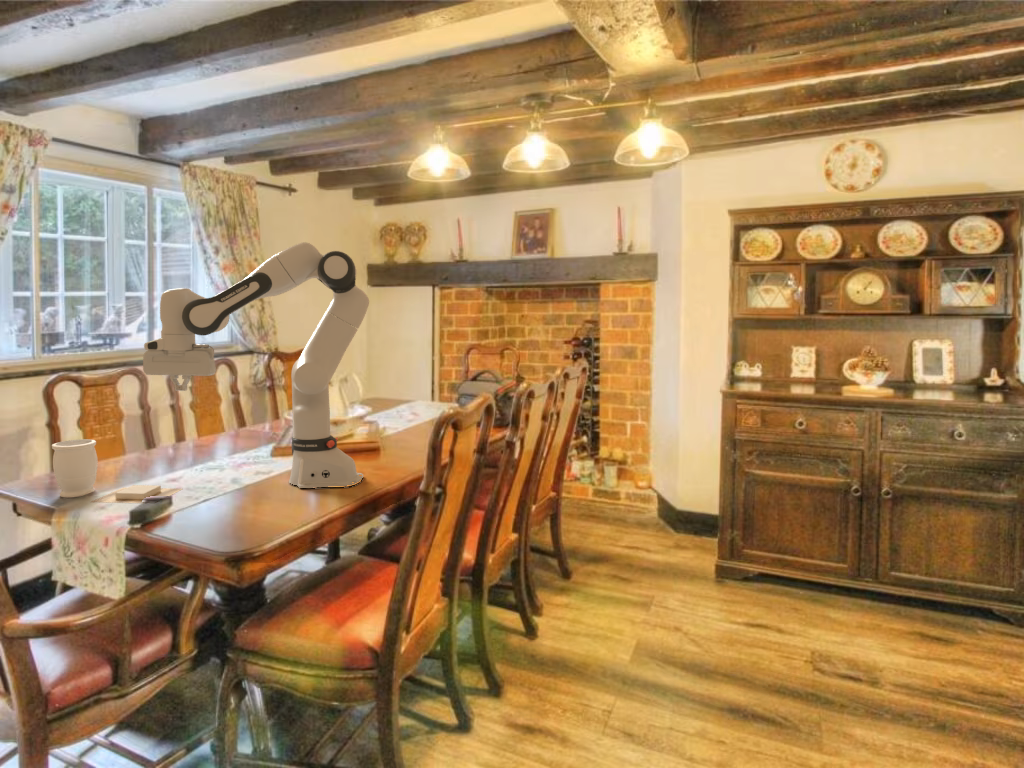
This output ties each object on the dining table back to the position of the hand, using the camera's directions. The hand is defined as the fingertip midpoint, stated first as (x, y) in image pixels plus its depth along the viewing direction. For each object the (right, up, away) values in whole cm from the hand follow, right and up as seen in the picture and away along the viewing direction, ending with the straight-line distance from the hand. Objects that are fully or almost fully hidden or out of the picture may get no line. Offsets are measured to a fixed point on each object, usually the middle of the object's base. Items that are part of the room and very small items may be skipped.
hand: (181, 390), depth 185 cm
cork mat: (-8, -30, -8) cm, 32 cm away
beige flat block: (-3, -29, -9) cm, 30 cm away
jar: (-27, -30, -6) cm, 40 cm away
